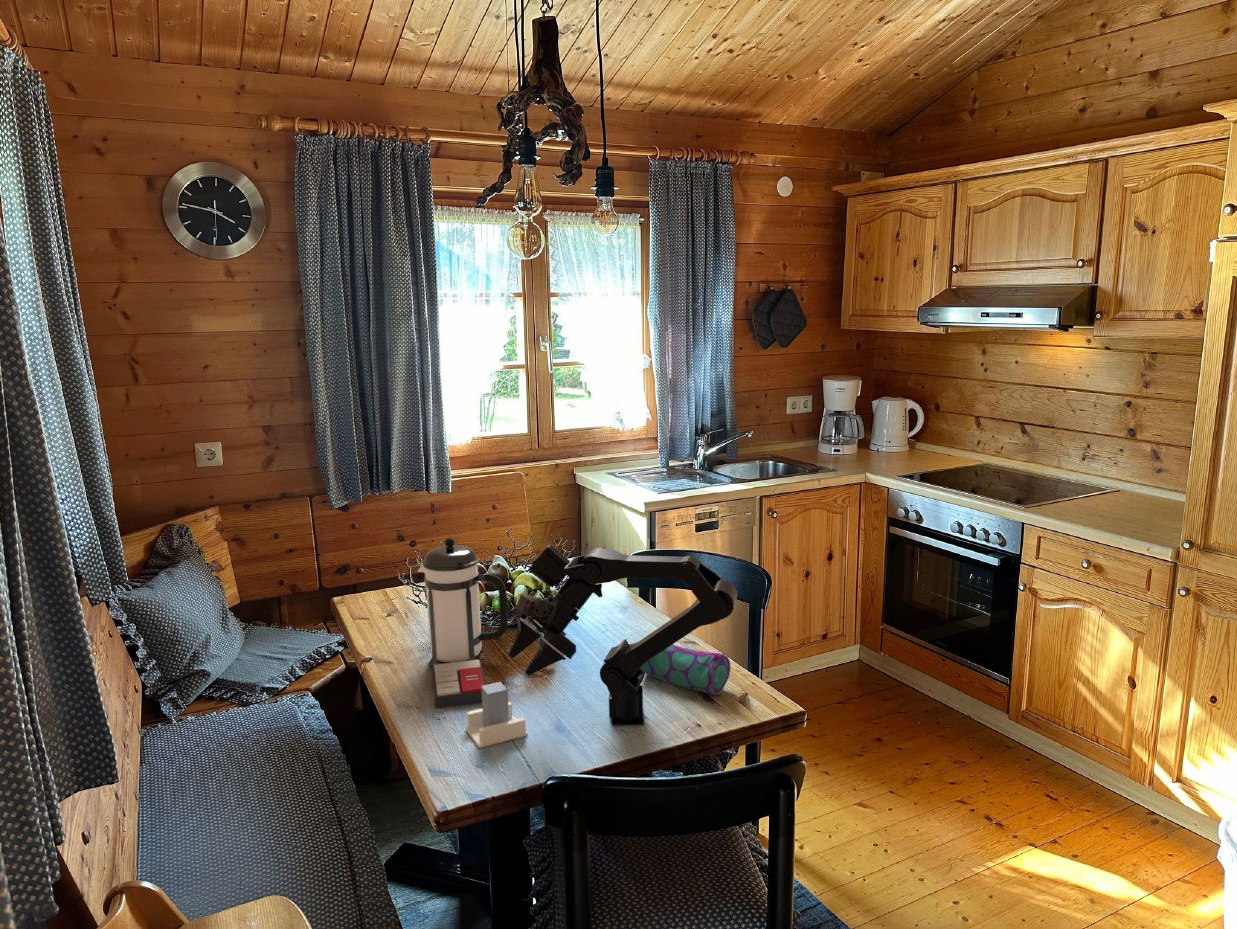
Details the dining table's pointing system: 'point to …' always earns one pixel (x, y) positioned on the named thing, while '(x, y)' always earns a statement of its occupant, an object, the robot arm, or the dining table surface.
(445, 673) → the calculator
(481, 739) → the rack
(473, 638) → the coffee press
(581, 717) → the dining table surface
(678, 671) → the pencil case
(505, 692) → the grey rectangular prism
